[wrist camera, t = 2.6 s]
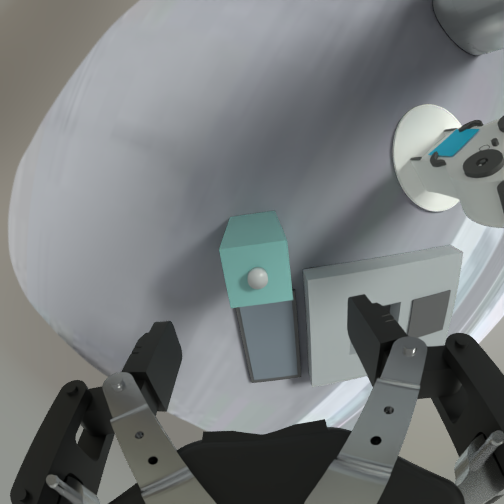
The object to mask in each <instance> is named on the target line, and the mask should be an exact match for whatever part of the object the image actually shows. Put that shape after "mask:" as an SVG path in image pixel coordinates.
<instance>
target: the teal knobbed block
mask: <svg viewBox="0 0 504 504" xmlns="http://www.w3.org/2000/svg"><path fill="white" fill-rule="evenodd" d="M219 252H220V257H221V262H222V267H223V272H224V277H225V282H226V287H227V292H228V297H229V301H230V306H231V308H236V307H244V306H252V305H260V304H268V303H275V302H282V301H289V300H293V294H292V283H291V273H290V264H289V254H288V245H287V239H286V237H285V234H284V232H283V229H282V227H281V225H280V222H279V220H278V217H277V215H276V213H275V211H268V212H261V213H254V214H247V215H240V216H234V217H230V219H229V222H228V225H227V228H226V230H225V233H224V236H223V239H222V242H221V245H220V248H219Z"/></svg>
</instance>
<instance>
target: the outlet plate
mask: <svg viewBox="0 0 504 504" xmlns="http://www.w3.org/2000/svg"><path fill="white" fill-rule="evenodd" d="M462 256H463V252H462V251H460V250H459V249H457V248H455V247H453V246H452V245H447V246H441V247H436V248H430V249H425V250H419V251H414V252H408V253H402V254H396V255H390V256H385V257H379V258H373V259H366V260H360V261H354V262H348V263H341V264H335V265H328V266H322V267H315V268H309V269H303V279H304V292H305V307H306V323H307V342H308V366H309V376H310V381H311V385H312V387H318V386H323V385H328V384H333V383H338V382H343V381H347V380H352V379H356V378H360V377H364V376H367V374H366V371H365V369H364V367H363V365H362V363H361V361H360V359H359V357H358V355H357V353H356V351H355V349H354V347H353V345H352V343H351V341H350V339H349V336H348V331H347V309H348V298H349V297H352V296H357V295H362V294H365V295H366V296H367V297H368V299H369V300H370V301H371V303H376V302H377V303H379V304H381V305H382V306H384V307H386V309H387V310H388V311H389V312H390V314H391V315H392V316H393V317H394V318H395V320H396V321H397V322H398V324H399V325H400V326H401V327H402V329H403V330H404V331H405V332H406V334H407V335H408V336H411V337H416V338H419V339H421V340H423V341H424V342H425V344H426V345H427V346H442V345H444V344H445V340H446V337H447V333H448V329H449V326H450V322H451V317H452V313H453V309H454V304H455V299H456V294H457V289H458V283H459V277H460V271H461V264H462Z"/></svg>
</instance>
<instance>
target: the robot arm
mask: <svg viewBox="0 0 504 504" xmlns="http://www.w3.org/2000/svg"><path fill="white" fill-rule="evenodd" d="M433 8H434V12H435V14H436V17H437V19H438V21H439V23H440V24H441V26H442V27H443V29H444V30H445V32H446V33H447V34H448V35H449V37H450V38H451V39H452V40H453V41H454V42H455V43H456V44H457V45H458V46H459V47H460V48H462V49H463V50H465V51H466V52H468V53H470V54H472V55H482V54H485V53H490V52H493V51H496V50H501V49H504V0H433ZM347 331H348V336H349V339H350V341H351V343H352V345H353V347H354V349H355V351H356V353H357V355H358V357H359V359H360V361H361V363H362V365H363V367H364V369H365V371H366V374H367V376H368V378H369V380H370V382H371V384H372V386H373V389H372V391H371V394H370V396H369V398H368V400H367V402H366V404H365V406H364V408H363V411H362V413H361V415H360V417H359V419H358V420H357V422H356V424H355V426H354V428H353V430H352V431H350V430H346V429H342V428H334V427H327V426H326V422H325V419H324V420H319V421H313V422H308V423H302V424H295V425H292V426H289V427H287V428H284V429H281V430H278V431H275V432H272V433H268V434H264V435H260V434H251V433H243V432H236V431H215V432H203V438H202V440H200V441H196V442H193V443H190V444H188V445H185V446H184V447H182V448H180V449H179V450H177V449H176V448H175V446H174V445H173V443H172V442H171V440H170V439H169V437H168V435H167V434H166V433H165V431H164V430H163V428H162V426H161V425H160V423H159V421H158V420H157V418H156V413H157V411H166V412H167V409H168V405H169V402H170V398H171V395H172V391H173V388H174V384H175V381H176V378H177V374H178V371H179V368H180V364H181V361H182V350H181V346H180V344H179V341H178V338H177V335H176V332H175V329H174V326H173V324H172V322H171V321H163V322H155V323H154V324H153V326H152V328H151V330H150V332H149V333H145V334H144V335H143V336H142V337H141V338H140V339H139V340H138V342H137V343H136V345H135V348H134V349H133V351H132V354H131V355H130V356H129V358H128V360H127V362H126V364H125V366H124V368H123V370H122V372H119V373H115V374H113V375H111V376H109V377H108V378H107V379H106V380H105V381H104V383H103V386H102V387H98V388H92V389H88V388H87V386H86V384H85V383H84V382H83V381H80V380H74V381H71V382H69V383H67V384H66V385H64V386H63V387H62V389H61V390H60V392H59V394H58V396H57V397H56V399H55V401H54V402H53V404H52V406H51V408H50V410H49V411H48V413H47V415H46V417H45V419H44V421H43V423H42V424H41V426H40V428H39V430H38V432H37V434H36V436H35V438H34V440H33V442H32V444H31V446H30V448H29V450H28V453H27V454H26V457H25V459H24V461H23V463H22V465H21V468H20V470H19V472H18V474H17V477H16V479H15V482H14V484H13V487H12V489H11V493H10V497H11V502H12V504H100V501H99V499H98V497H97V492H98V488H99V484H100V481H101V477H102V474H103V470H104V467H105V463H106V460H107V456H108V453H109V450H110V447H111V444H112V441H113V437H114V434H115V435H116V438H117V440H118V442H119V445H120V447H121V449H122V452H123V454H124V456H125V458H126V461H127V463H128V465H129V467H130V469H131V471H132V473H133V475H134V477H135V479H136V481H137V483H136V484H135V485H133V486H132V487H131V488H129V489H128V490H127V491H125V492H124V493H123V494H121V495H120V496H118V497H117V498H116V499H114V500H113V501H111V502H110V503H109V504H491V503H494V502H495V501H497V500H498V499H499V498H500V497H502V496H503V495H504V375H503V374H502V373H501V371H500V370H499V368H498V367H497V366H496V365H495V363H494V362H493V361H492V360H491V359H490V357H489V356H488V355H487V354H486V352H485V351H484V350H483V349H482V348H481V347H480V346H479V344H478V343H477V342H476V341H475V340H474V339H473V338H472V337H471V336H469V335H467V334H464V333H455V334H452V335H450V336H449V337H448V338H447V339H446V342H445V345H442V346H427V345H426V344H425V342H424V341H423V340H421V339H419V338H416V337H411V336H408V335H407V334H406V332H405V331H404V330H403V329H402V327H401V326H400V325H399V324H398V322H397V321H396V320H395V318H394V317H393V316H392V315H391V314H390V312H389V311H388V310H387V309H386V307H384V306H382V305H381V304H379V303H377V302H376V303H371V301H370V300H369V299H368V297H367V296H366V295H365V294H362V295H357V296H352V297H349V298H348V309H347ZM422 398H431V399H432V401H433V403H434V405H435V407H436V409H437V411H438V413H439V414H440V417H441V419H442V421H443V423H444V424H445V427H446V429H447V431H448V433H449V435H450V437H451V439H452V442H453V444H454V446H455V448H456V450H457V453H458V455H459V459H458V460H457V462H456V464H455V469H454V470H455V477H456V478H455V479H456V481H455V484H454V483H453V482H451V481H450V480H448V479H446V478H444V477H441V476H439V475H437V474H434V473H432V472H430V471H428V470H425V469H424V468H422V467H419V466H417V465H415V464H413V463H411V462H409V461H407V460H405V459H403V458H401V457H399V456H398V455H399V452H400V450H401V447H402V444H403V441H404V439H405V436H406V433H407V430H408V427H409V424H410V421H411V418H412V415H413V412H414V408H415V405H416V401H417V399H422ZM80 424H81V426H82V427H83V428H84V429H83V432H82V434H81V436H80V439H79V441H78V444H77V443H76V440H75V436H76V433H77V430H78V428H79V426H80Z"/></svg>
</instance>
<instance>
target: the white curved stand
mask: <svg viewBox="0 0 504 504" xmlns="http://www.w3.org/2000/svg"><path fill="white" fill-rule="evenodd" d="M474 126H477V127H474ZM393 163H394V168H395V172H396V176H397V178H398V181H399V183H400V185H401V187H402V189H403V190H404V192H405V193H406V195H407V196H408V197H409V198H410V199H411V200H412V201H413V202H414V203H415V204H416V205H418V206H420V207H421V208H424V209H426V210H429V211H444V210H447V209H449V208H451V207H453V206H454V205H455V204H457V203H458V202H459V201H460V203H461V205H462V208H463V211H464V213H465V214H466V216H467V217H468V218H469V219H471V220H472V221H474V222H476V223H478V224H481V225H485V226H489V227H496V228H504V116H503V117H502V118H500V119H498V120H495V121H492V122H490V123H487V124H485V125H483V123H482V121H480V120H474V121H471V122H469V123H467V124H465V125H463V126H462V125H461V124H460V123H459V121H458V120H457V119H456V118H455V117H454V116H453V115H452V114H451V113H450V112H449V111H447V110H446V109H444V108H442V107H439V106H436V105H430V104H426V105H420V106H417V107H414V108H412V109H411V110H409V111H408V112H407V113H406V114H405V115H404V116H403V117H402V119H401V120H400V122H399V124H398V126H397V128H396V131H395V135H394V140H393Z"/></svg>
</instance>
